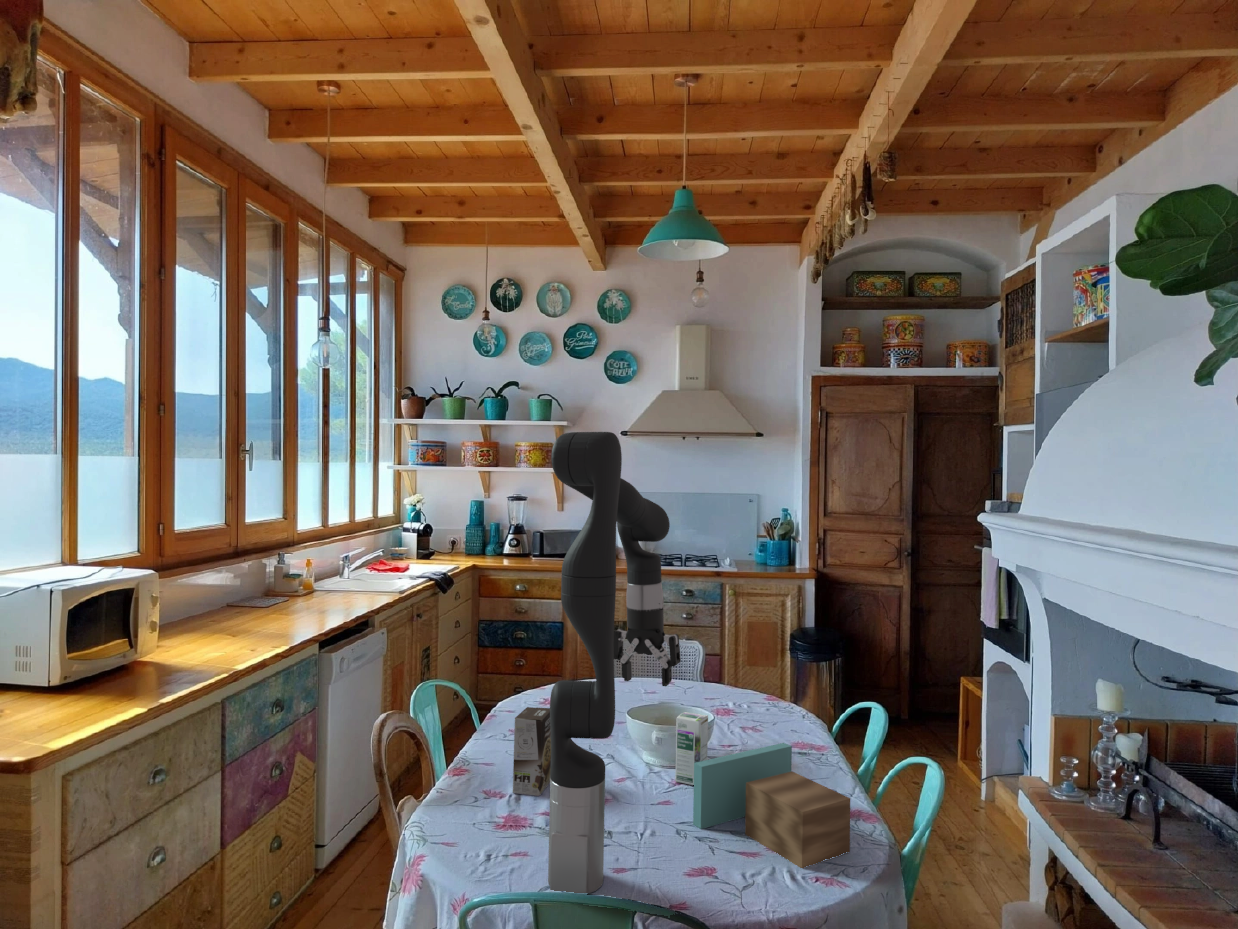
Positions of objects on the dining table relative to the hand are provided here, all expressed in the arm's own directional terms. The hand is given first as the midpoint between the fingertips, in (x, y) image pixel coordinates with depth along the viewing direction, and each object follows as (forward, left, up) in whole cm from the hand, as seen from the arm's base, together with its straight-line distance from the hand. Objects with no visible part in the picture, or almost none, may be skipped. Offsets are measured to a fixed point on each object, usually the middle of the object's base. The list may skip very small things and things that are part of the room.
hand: (646, 682), depth 159 cm
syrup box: (+18, -7, -26) cm, 32 cm away
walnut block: (-7, -30, -26) cm, 41 cm away
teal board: (+3, -20, -26) cm, 33 cm away
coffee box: (+5, +26, -26) cm, 37 cm away
